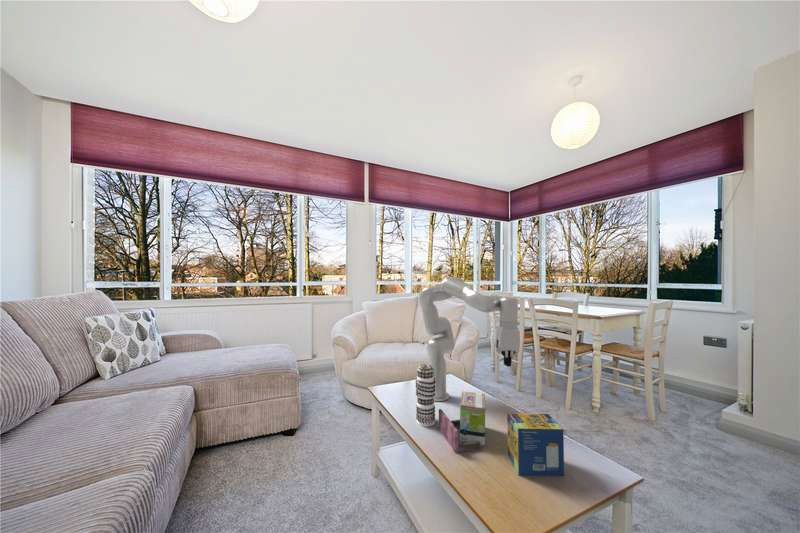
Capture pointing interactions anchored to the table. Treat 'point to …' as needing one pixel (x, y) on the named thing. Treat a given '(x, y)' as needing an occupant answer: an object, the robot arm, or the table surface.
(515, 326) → the robot arm
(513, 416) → the protein box
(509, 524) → the table surface
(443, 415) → the stand
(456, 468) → the table surface
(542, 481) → the table surface
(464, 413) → the tea box
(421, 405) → the decorative candle
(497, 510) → the table surface
